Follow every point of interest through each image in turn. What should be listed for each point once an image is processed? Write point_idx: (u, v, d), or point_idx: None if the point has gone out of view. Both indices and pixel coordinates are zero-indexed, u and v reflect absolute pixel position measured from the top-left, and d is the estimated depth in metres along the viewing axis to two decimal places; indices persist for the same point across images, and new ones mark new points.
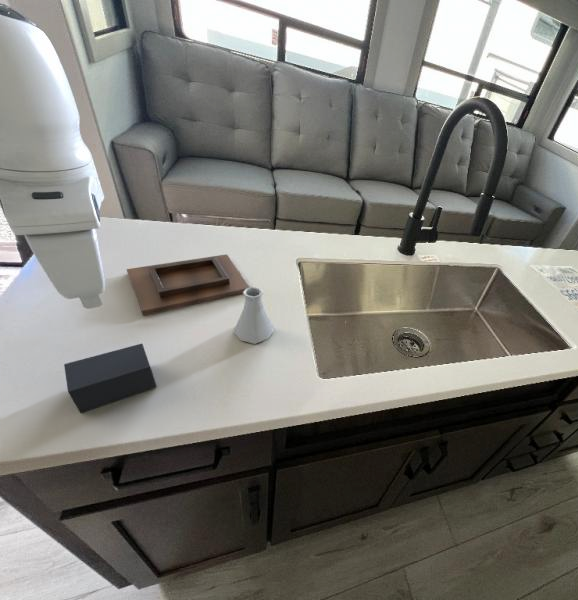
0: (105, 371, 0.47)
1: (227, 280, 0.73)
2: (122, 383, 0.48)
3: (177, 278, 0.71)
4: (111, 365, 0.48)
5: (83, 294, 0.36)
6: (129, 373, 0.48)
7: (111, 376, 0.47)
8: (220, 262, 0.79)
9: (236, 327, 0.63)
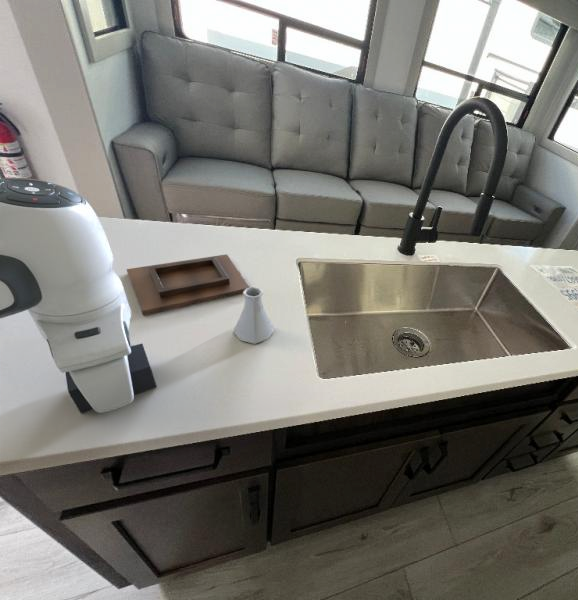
0: None
1: (227, 280, 0.73)
2: None
3: (177, 278, 0.71)
4: None
5: (115, 408, 0.41)
6: None
7: None
8: (220, 262, 0.79)
9: (236, 327, 0.63)
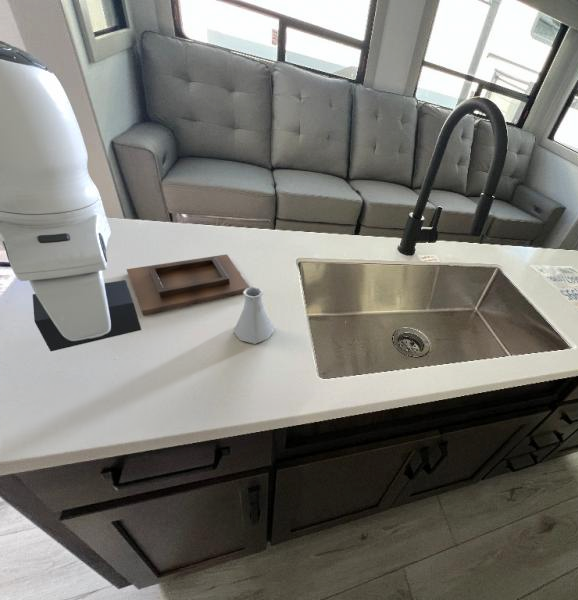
0: None
1: (227, 280, 0.73)
2: None
3: (177, 278, 0.71)
4: None
5: (88, 336, 0.35)
6: (109, 308, 0.41)
7: None
8: (220, 262, 0.79)
9: (236, 327, 0.63)
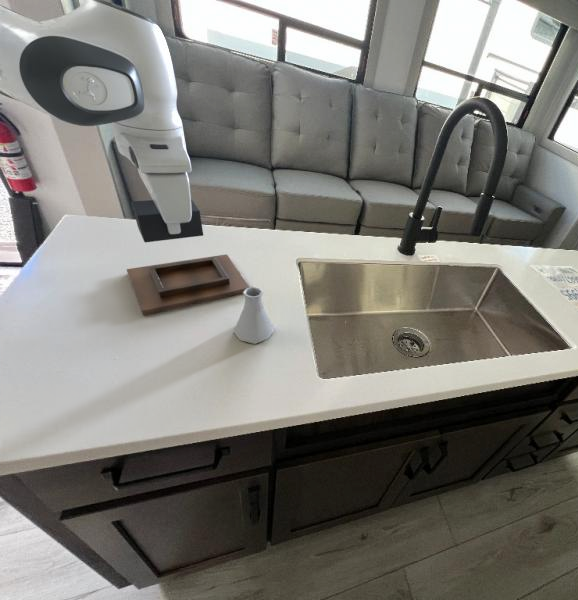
0: None
1: (227, 280, 0.73)
2: None
3: (177, 278, 0.71)
4: None
5: (178, 220, 0.50)
6: None
7: None
8: (220, 262, 0.79)
9: (236, 327, 0.63)
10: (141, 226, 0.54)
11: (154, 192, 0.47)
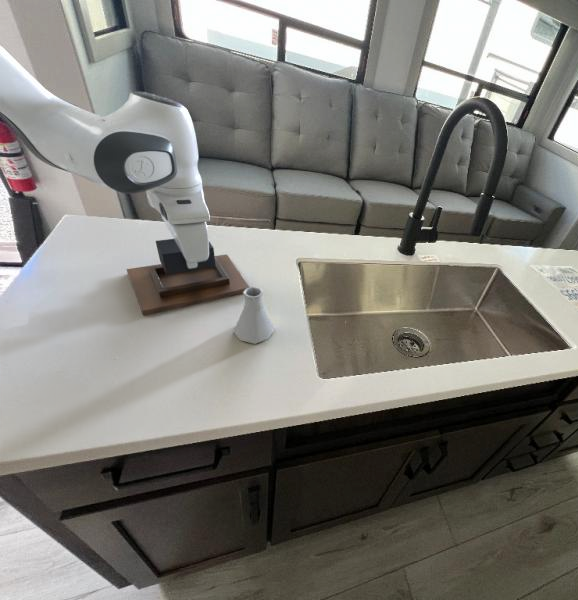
0: None
1: (227, 280, 0.73)
2: None
3: (177, 278, 0.71)
4: None
5: (198, 260, 0.60)
6: None
7: None
8: (220, 262, 0.79)
9: (236, 327, 0.63)
10: (165, 262, 0.64)
11: (179, 239, 0.57)
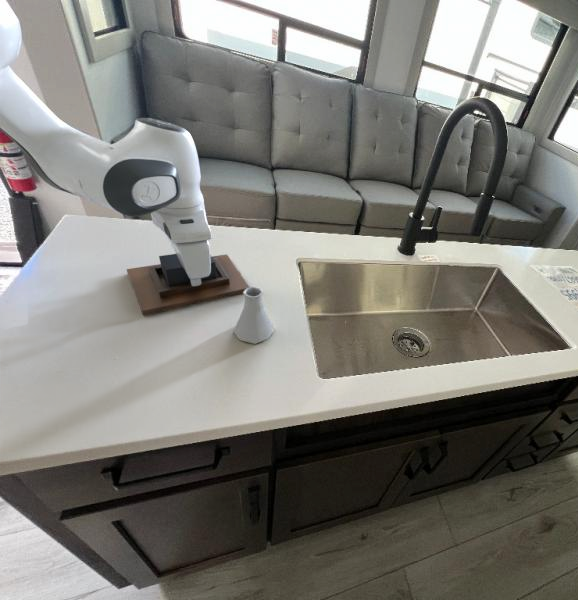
0: None
1: (227, 280, 0.73)
2: None
3: None
4: None
5: (200, 276, 0.62)
6: None
7: None
8: (220, 262, 0.79)
9: (236, 327, 0.63)
10: (168, 277, 0.66)
11: (182, 257, 0.59)
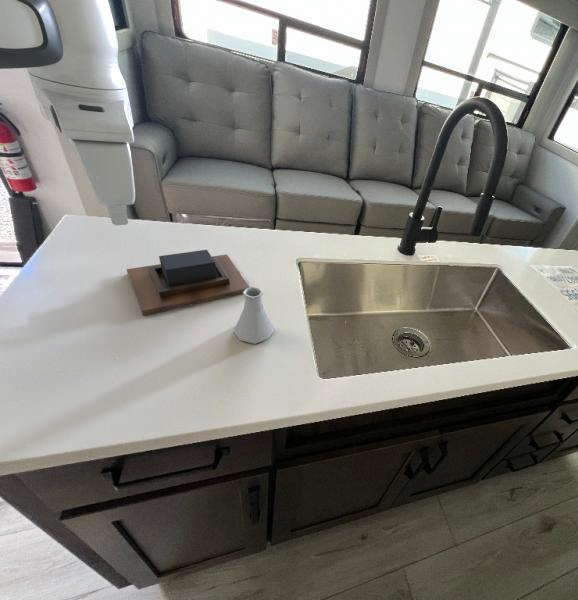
0: (186, 261, 0.68)
1: (227, 280, 0.73)
2: (197, 272, 0.69)
3: None
4: (189, 259, 0.69)
5: (117, 201, 0.41)
6: (202, 264, 0.69)
7: (191, 264, 0.68)
8: (220, 262, 0.79)
9: (236, 327, 0.63)
10: (168, 277, 0.66)
11: (83, 164, 0.38)
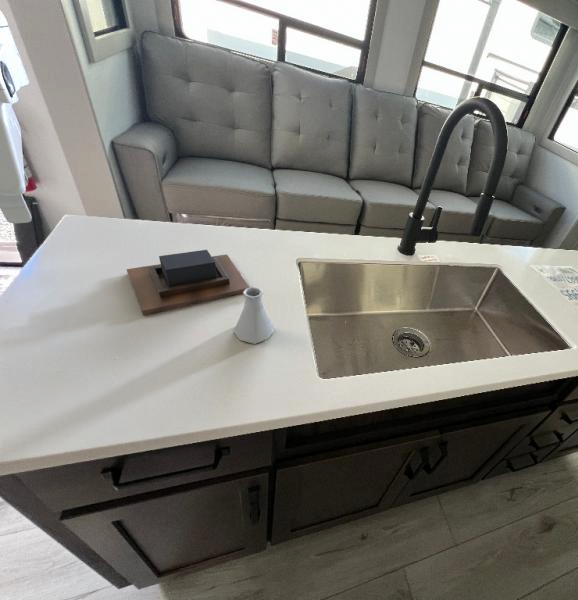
0: (186, 261, 0.68)
1: (227, 280, 0.73)
2: (197, 272, 0.69)
3: None
4: (189, 259, 0.69)
5: None
6: (202, 264, 0.69)
7: (191, 264, 0.68)
8: (220, 262, 0.79)
9: (236, 327, 0.63)
10: (168, 277, 0.66)
11: None
